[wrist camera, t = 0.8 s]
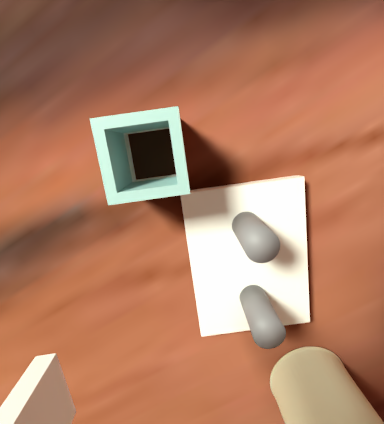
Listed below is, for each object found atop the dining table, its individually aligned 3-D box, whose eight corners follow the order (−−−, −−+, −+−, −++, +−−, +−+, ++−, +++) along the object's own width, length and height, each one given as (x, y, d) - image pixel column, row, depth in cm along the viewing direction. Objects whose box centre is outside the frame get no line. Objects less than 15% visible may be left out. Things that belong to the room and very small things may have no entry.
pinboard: (180, 191, 28) (178, 207, 20) (297, 175, 28) (338, 185, 20) (200, 327, 31) (205, 382, 24) (304, 313, 31) (340, 364, 24)
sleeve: (118, 126, 26) (89, 118, 18) (180, 118, 26) (178, 106, 18) (129, 188, 28) (108, 205, 20) (188, 180, 28) (190, 193, 20)
